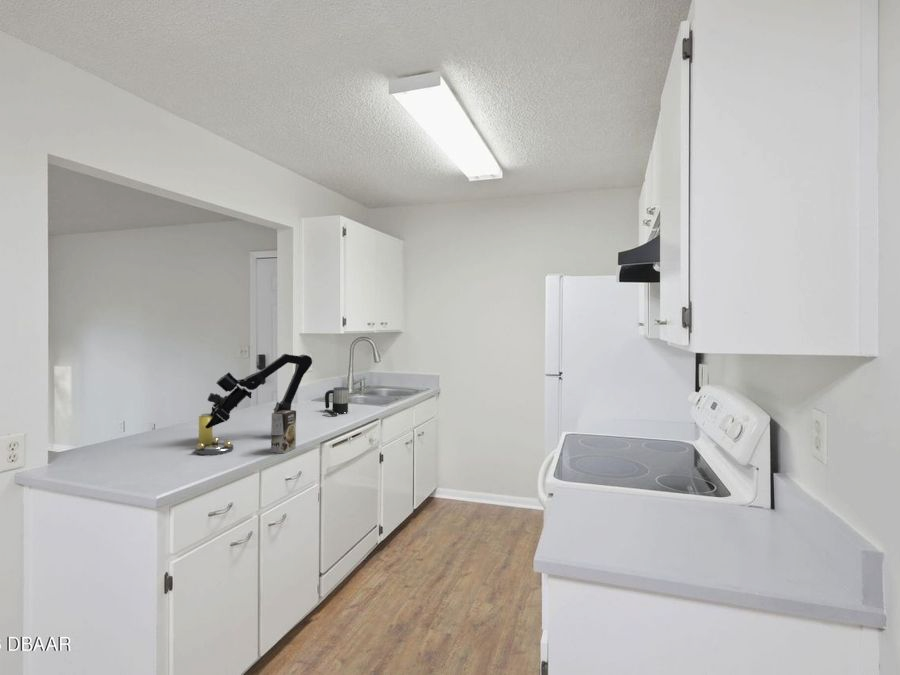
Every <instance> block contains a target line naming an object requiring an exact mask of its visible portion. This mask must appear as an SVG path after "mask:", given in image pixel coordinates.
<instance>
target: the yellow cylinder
mask: <svg viewBox="0 0 900 675" xmlns="http://www.w3.org/2000/svg"><path fill="white" fill-rule="evenodd" d="M210 414H211V413H202V414H200V415H199V416H198V444H199V443H204V445H205V444H211V443H212V438H213V426H212V427H210V428H208V429H207V428H205V426H206V425H207V424H208V423H209V421H210V420H211V419H212V415H210Z"/></svg>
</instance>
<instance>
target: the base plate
mask: <svg viewBox="0 0 900 675" xmlns="http://www.w3.org/2000/svg"><path fill="white" fill-rule="evenodd" d="M232 450H233V451H234V444H233V443H232V442H231V441H229V440H227V441H224V442H219V437H212V443H211V444H205V445H204V443H199V442H198V443H197V444H196V447H195V449H194V453H195V454H196V453H197V454H200V455H199V456H204V455H210V456H218V455H217V454H220V455H224V454H223V453H225V454H228V453H227V452H229V453H231V452H233V451H232ZM230 451H231V452H230ZM197 454H196V455H197Z"/></svg>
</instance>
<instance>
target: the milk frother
mask: <svg viewBox="0 0 900 675" xmlns="http://www.w3.org/2000/svg"><path fill="white" fill-rule="evenodd" d="M349 389H350V388H349V387H345V386H344V387H341V386H339V387H337V386H336V387H333V388H332V389H329V390H327V391H326V392H325V393H324V403H325V404H324V406H325V409H324V412H325V413H327V414H329V415H330V416H332V415H333V416H338V414H337V413H344V412H348V413H349ZM331 394H332V407H331V408H332V410H330V395H331Z"/></svg>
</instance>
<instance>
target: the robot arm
mask: <svg viewBox="0 0 900 675" xmlns="http://www.w3.org/2000/svg"><path fill="white" fill-rule="evenodd" d="M287 364H294V365H295V367H294V373H293V375H292V378H291V379H290V382H289V384H288V387H287V388H286V391H285V393H284V396H283V398H282V400H281V401H280V402H279V401H277V402H276V403H275V407H274V409H273V411H274V412H273V413H275V412H278V411H282V410H292V404H293V400H294V398H295V396H296V394H297V391H298V389H299V386H300V384H301V382H302V379H303V377H304V376H305V374H306V373H307V371H308V370H309V369H310V368H311V366H312V364H313V359H312V357H311V356H310V355H308V354H301V355H293V354H289V353H288V354H287V353H284V354H282V355H281V356H280V357H277V359H275V360H274V361H272V362H271V363H269V364H268V365H266V366H265V367H263V369H260V370H259V371H257V372H255V373H252V374H250V375H248V376H246V377H245V378H242V379H236V378H235V377H234V376H233V374H231V373H230V371H229V372H227V373H226V374H224V375H223V376H221V377H220V378H219V379H218V380H217V381H216V384H217V385H218V386H219V387H220V388H221V389H222V390H223V391H224V392H230V393H228V395H225V396H224V397H223V396H221V394H218V393H214V392H210V393H209V395H208V397H207V402H210V403H213V404H212V406H211V412H210V413H209V414H210V415H212V419H211V420H210V421H209V423H208V424H207V425H206V426H205V428H207V429H208V428H210V427H212V428H213V427H215V426H216V425H219V424H222V423H225V422H228V420H229V419H230V418H231V417H230V414H231V412H232V411H233V410H234V409H235V408H237V407H238V405H239V404H240V403H241V402H242V401H243V400H244V399H245V398H246V397H248V398H249V399H252V393H253V392H252V391H254V390H256V389H257V388H258V387H259V386H260V385H261V384H263V383H264V381H265V380H266V379H267V378H268V377H269V376H271V375H272V374H274V373H276V372H277V371H278V370H280V369H281V368H283V366H285V365H287ZM241 387H243V388H241ZM248 390H250V391H248Z"/></svg>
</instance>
